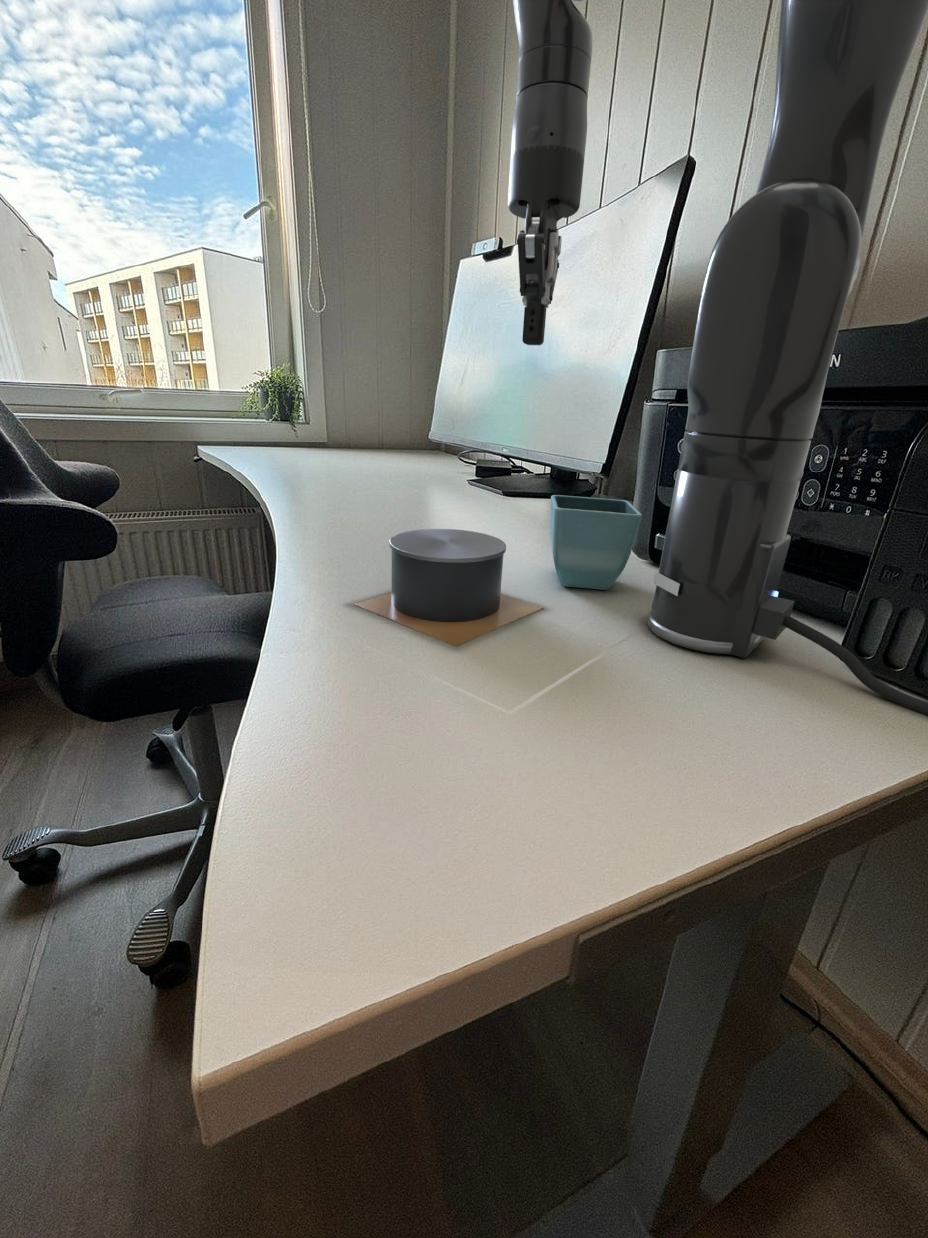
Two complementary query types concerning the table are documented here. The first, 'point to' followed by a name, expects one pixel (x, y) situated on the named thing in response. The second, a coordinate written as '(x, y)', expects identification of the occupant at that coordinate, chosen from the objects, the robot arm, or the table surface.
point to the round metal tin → (446, 574)
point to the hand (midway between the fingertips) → (532, 344)
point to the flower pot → (591, 539)
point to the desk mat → (453, 630)
